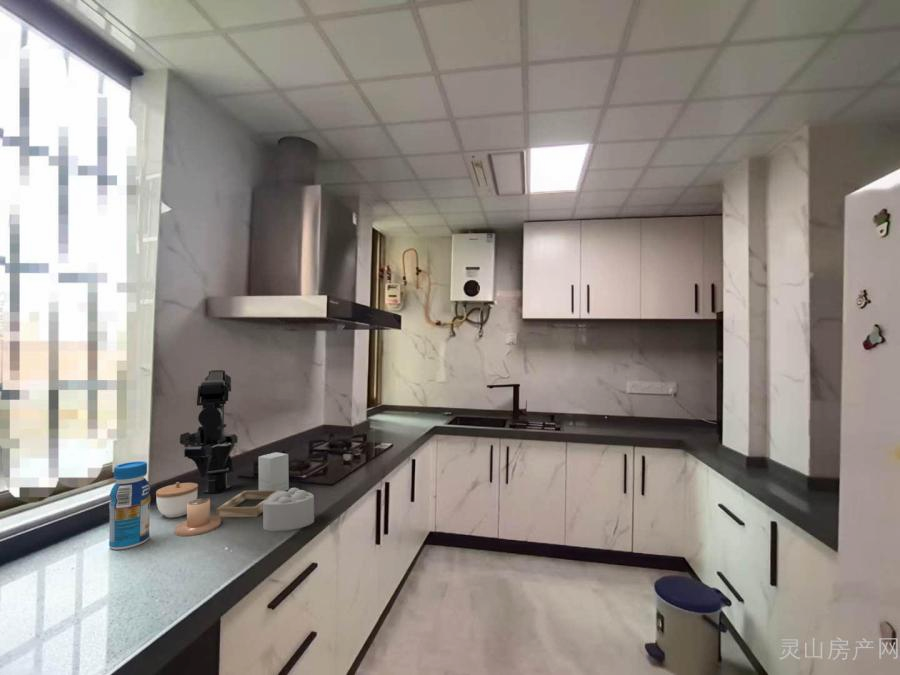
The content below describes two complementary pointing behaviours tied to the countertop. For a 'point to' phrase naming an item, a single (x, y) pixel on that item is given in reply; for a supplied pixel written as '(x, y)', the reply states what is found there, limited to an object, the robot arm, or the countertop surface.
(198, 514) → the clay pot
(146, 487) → the beverage bottle
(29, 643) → the countertop surface
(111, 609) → the countertop surface
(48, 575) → the countertop surface
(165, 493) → the lidded jar
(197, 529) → the terracotta saucer
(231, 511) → the wooden frame
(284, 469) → the supplement box
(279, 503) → the lumpy-topped squat cylinder
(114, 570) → the countertop surface
